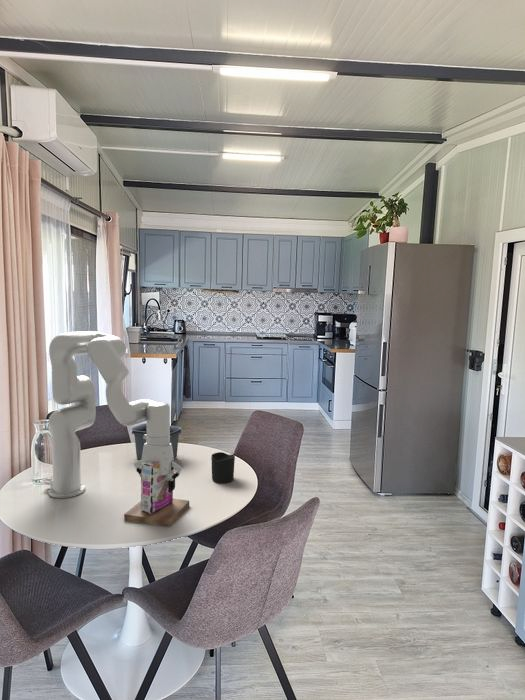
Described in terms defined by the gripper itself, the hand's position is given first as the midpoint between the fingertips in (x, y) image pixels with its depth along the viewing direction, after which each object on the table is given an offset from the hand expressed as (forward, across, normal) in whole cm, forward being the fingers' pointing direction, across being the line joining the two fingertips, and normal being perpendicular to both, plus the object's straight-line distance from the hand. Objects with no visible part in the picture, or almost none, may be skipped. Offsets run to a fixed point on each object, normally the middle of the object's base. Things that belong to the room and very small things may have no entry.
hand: (158, 489), depth 156 cm
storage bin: (+9, -26, +51) cm, 58 cm away
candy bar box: (+6, 0, 0) cm, 7 cm away
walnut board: (+8, 0, 0) cm, 8 cm away
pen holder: (+9, +11, +35) cm, 38 cm away
